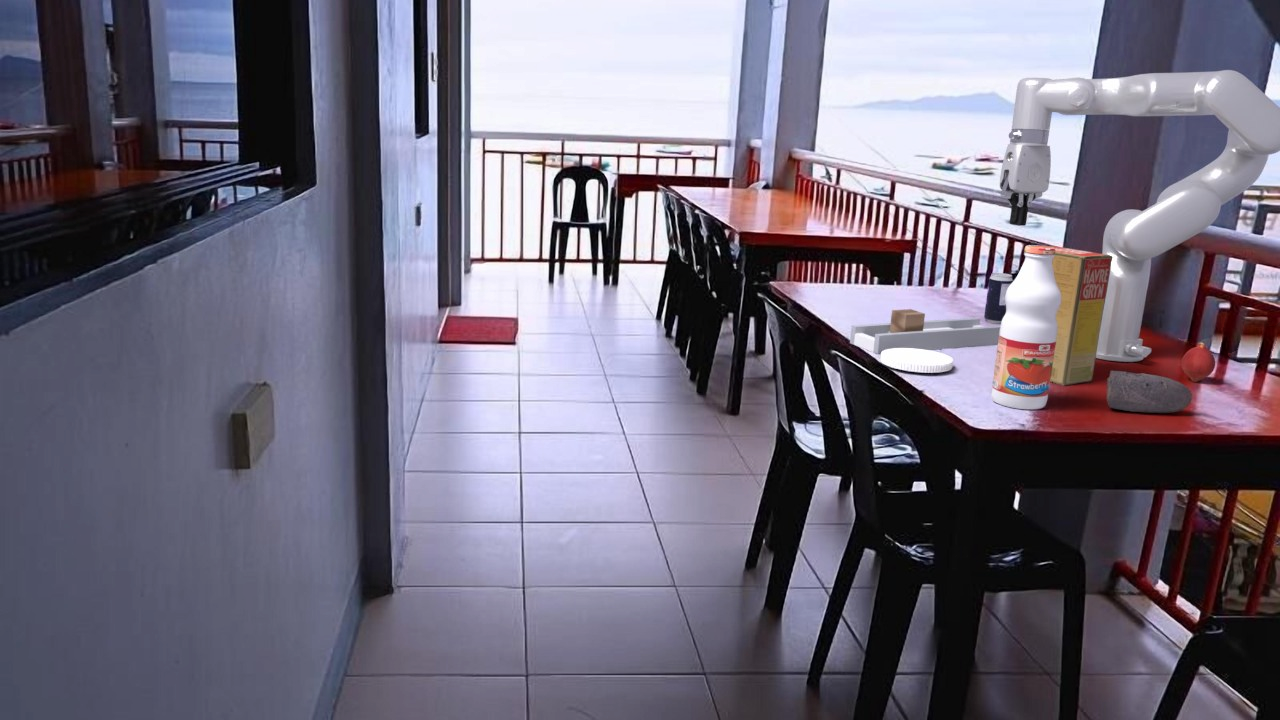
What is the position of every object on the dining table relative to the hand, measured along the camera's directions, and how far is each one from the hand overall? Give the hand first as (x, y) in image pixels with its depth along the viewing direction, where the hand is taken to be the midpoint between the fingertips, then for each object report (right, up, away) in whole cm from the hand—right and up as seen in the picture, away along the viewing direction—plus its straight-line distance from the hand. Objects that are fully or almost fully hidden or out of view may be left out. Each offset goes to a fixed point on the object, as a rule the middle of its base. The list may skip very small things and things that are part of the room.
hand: (1017, 224), depth 208 cm
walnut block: (-23, -24, +3) cm, 33 cm away
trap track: (-18, -26, +6) cm, 32 cm away
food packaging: (0, -33, -17) cm, 37 cm away
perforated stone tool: (+7, -39, -39) cm, 56 cm away
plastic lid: (-26, -31, -14) cm, 43 cm away
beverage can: (+7, -20, +32) cm, 39 cm away
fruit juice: (-14, -37, -37) cm, 54 cm away
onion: (+28, -34, -18) cm, 48 cm away
